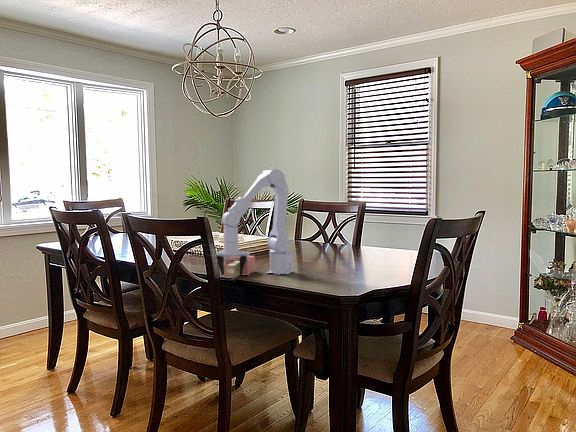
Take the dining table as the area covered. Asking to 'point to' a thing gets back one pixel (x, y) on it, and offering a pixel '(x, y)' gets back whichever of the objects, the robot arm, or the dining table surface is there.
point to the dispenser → (248, 265)
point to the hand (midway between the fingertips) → (232, 274)
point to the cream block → (233, 269)
